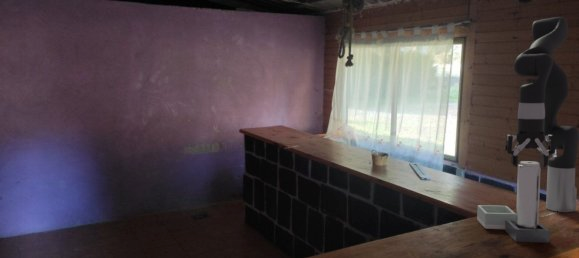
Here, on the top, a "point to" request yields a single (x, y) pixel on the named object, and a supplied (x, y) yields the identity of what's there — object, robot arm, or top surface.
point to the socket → (527, 233)
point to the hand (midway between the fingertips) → (529, 166)
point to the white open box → (494, 216)
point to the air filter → (528, 195)
